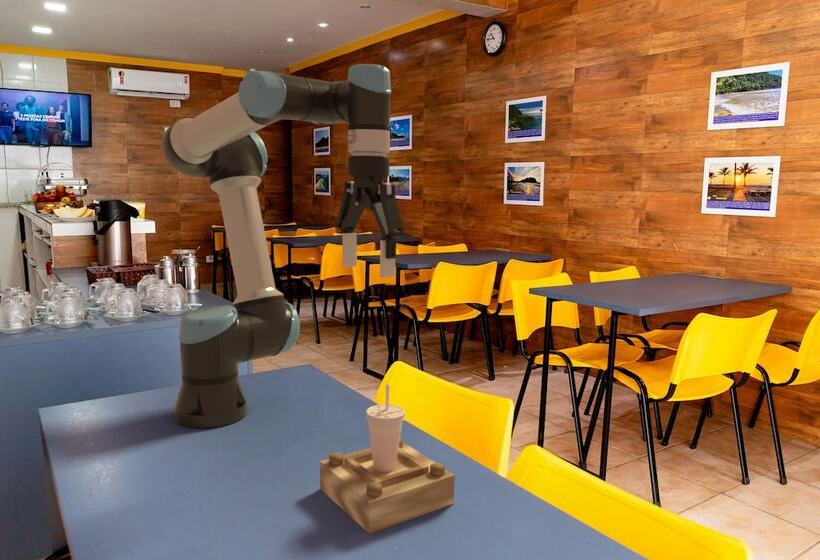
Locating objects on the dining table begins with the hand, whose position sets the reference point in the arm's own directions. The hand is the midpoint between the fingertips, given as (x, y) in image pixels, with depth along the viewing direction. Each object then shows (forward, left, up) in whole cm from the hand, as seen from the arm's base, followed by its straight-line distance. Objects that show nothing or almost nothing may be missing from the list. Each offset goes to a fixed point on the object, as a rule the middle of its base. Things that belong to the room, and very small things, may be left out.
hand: (367, 271), depth 116 cm
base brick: (+18, -7, -35) cm, 40 cm away
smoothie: (+18, -7, -30) cm, 35 cm away
